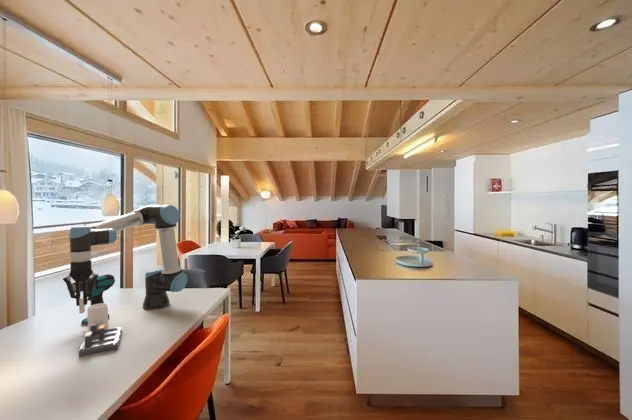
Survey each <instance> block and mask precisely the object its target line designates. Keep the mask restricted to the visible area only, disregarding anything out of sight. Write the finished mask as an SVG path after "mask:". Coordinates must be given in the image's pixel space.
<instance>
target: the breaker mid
mask: <svg viewBox="0 0 632 420" xmlns="http://www.w3.org/2000/svg"><path fill="white" fill-rule="evenodd" d="M104 338H105V325H100V326H99V339H104Z"/></svg>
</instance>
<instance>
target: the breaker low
mask: <svg viewBox="0 0 632 420" xmlns="http://www.w3.org/2000/svg"><path fill="white" fill-rule="evenodd" d="M91 332H92V335H97V322H92V323H91Z"/></svg>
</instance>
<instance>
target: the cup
mask: <svg viewBox="0 0 632 420" xmlns="http://www.w3.org/2000/svg"><path fill="white" fill-rule="evenodd" d="M108 314H109V307H108V304H107V303H105V302H104V303H100V304H94V305H91V304H90V306H88V308H87V314H86V315H87V317H86V318H87V319H88V323H87V329H88V330H87V332H91V323H92V322H97V331H98V330H99V326H100V325H105V329H109V319H108Z"/></svg>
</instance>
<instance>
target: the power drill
mask: <svg viewBox="0 0 632 420" xmlns="http://www.w3.org/2000/svg"><path fill="white" fill-rule="evenodd" d="M92 279H93V278H92V276H90V277H89V278H88V280H87V294H88V293H89V289H90V286H91V282H92ZM115 282H116V279H115V277H114V275H113V274H111V273H110V274H109V273H108V274H103V275H99V276H98V277H97V278H96V281H95V285H94V289H93V292H92V295H91V296H89V297H87V302H88V301H89V302H90V306H91V305H94V304H100V303H105V302H104V297H103V296H104V295H103V293H104V292H105V291H108V290H109V289H110V288H111V287H113V286H114V285H115ZM71 283H72V282H71ZM72 286H73V289H74V292H75V294H76V284H75V281H74V282H73V283H72ZM67 290H68V287H67ZM80 293H83V282H82V281H80ZM108 320H110V313H108ZM82 324H83V325H84V324H88V319H87V317H85V318H83V319H82V320H81V325H82Z"/></svg>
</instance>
